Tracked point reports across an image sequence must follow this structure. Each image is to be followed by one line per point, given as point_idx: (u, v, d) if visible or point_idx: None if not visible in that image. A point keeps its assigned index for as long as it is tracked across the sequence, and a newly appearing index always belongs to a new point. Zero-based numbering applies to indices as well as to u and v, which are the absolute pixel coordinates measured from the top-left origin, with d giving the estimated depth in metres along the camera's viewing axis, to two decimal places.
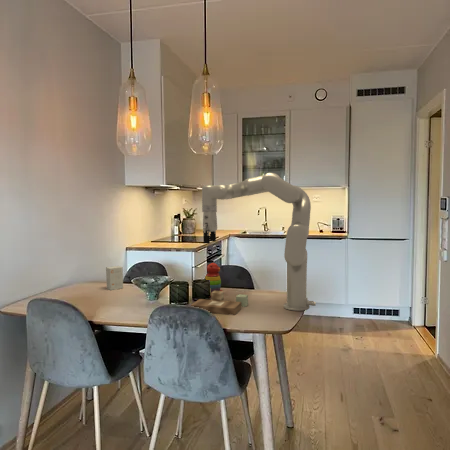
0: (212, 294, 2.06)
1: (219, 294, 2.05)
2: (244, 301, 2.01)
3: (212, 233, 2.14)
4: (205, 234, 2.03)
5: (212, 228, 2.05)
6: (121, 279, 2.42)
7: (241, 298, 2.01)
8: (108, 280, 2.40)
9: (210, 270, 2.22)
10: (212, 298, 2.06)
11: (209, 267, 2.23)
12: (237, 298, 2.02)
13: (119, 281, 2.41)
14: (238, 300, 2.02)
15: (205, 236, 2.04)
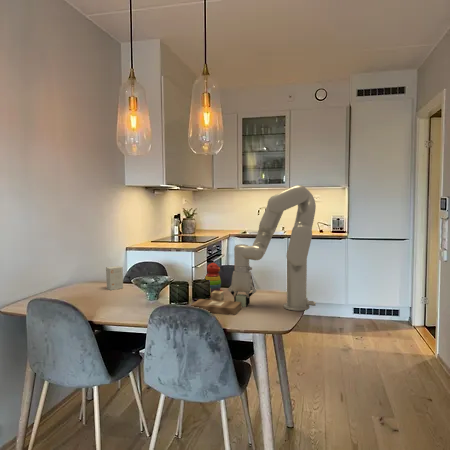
0: (212, 294, 2.06)
1: (219, 294, 2.05)
2: (244, 301, 2.01)
3: None
4: None
5: None
6: (121, 279, 2.42)
7: (241, 298, 2.01)
8: (108, 280, 2.40)
9: (210, 270, 2.22)
10: (212, 298, 2.06)
11: (209, 267, 2.23)
12: (237, 298, 2.02)
13: (119, 281, 2.41)
14: (238, 300, 2.02)
15: (249, 298, 2.02)
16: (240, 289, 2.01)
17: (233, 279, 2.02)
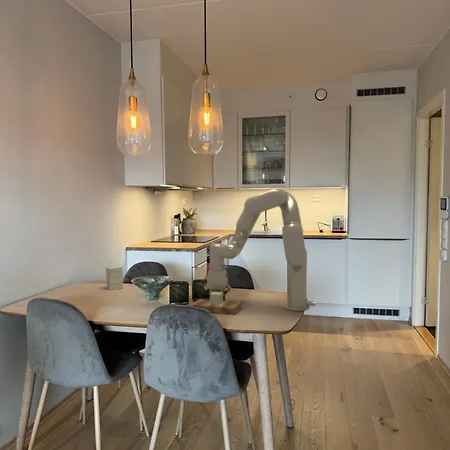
0: None
1: None
2: (218, 299, 1.93)
3: None
4: None
5: None
6: (121, 279, 2.42)
7: (215, 296, 1.94)
8: (108, 280, 2.40)
9: None
10: None
11: (209, 267, 2.23)
12: (211, 296, 1.94)
13: (119, 281, 2.41)
14: (212, 298, 1.94)
15: (224, 296, 2.06)
16: (215, 287, 2.05)
17: (209, 277, 2.06)
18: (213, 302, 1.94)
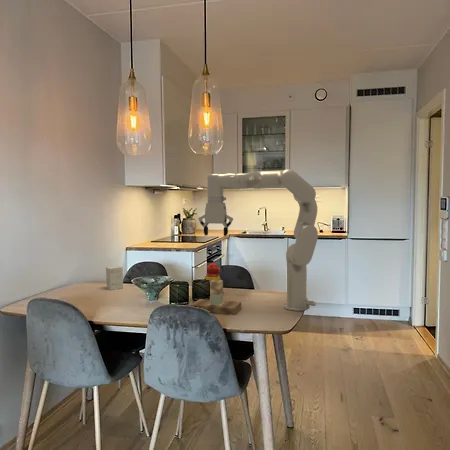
0: (211, 283, 1.94)
1: (218, 283, 1.93)
2: (218, 299, 1.93)
3: (206, 226, 1.95)
4: (228, 226, 1.92)
5: None
6: (121, 279, 2.42)
7: (215, 296, 1.94)
8: (108, 280, 2.40)
9: (210, 270, 2.22)
10: (211, 287, 1.94)
11: (209, 267, 2.23)
12: (211, 296, 1.94)
13: (119, 281, 2.41)
14: (212, 298, 1.94)
15: (227, 228, 1.92)
16: (213, 220, 1.91)
17: (206, 210, 1.92)
18: (213, 302, 1.94)
